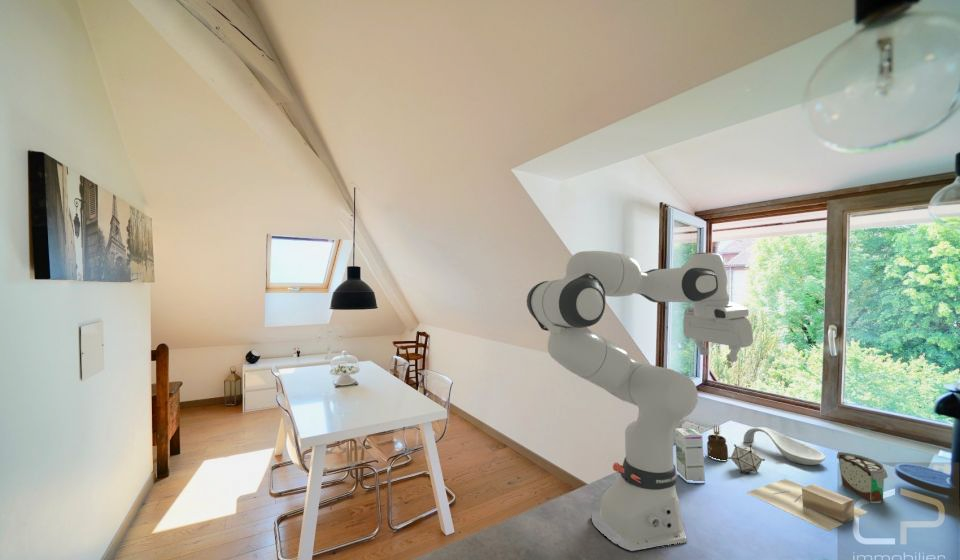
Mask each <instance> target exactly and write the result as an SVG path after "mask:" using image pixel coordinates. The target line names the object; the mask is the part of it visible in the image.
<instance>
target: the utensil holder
mask: <svg viewBox="0 0 960 560" xmlns="http://www.w3.org/2000/svg"><path fill="white" fill-rule="evenodd" d="M721 429H722V427H721V425H720V424H718V425H713V431H712V433H713V434H709V435H708V436H707V443H706V447H707V449H706V450H707V456H708V455H709V456H711V457H713V458H716V459H720V460H727V459H728V457H729V450H728V444H727V439H726V438H725V437H724V436H722V435H721V432H720V430H721ZM709 456H708V457H709ZM727 461H728V460H727Z"/></svg>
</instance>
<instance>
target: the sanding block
mask: <svg viewBox="0 0 960 560" xmlns="http://www.w3.org/2000/svg"><path fill="white" fill-rule="evenodd" d="M802 499H803V506H804V507H807V508H809V509H811V510H813V511H816V512H818V513H820V514H822V515H825V516H827V517H829V518H831V519H834V520H836V521H838V522H840V523H843V524H846V523H849V522H851V521H853V520H855V519H854V504H855V503H854V499H853V498H849V497H847V496H845V495H842V494H840V493H837V492H835V491H832V490H829V489H827V488H824V487H822V486H819V485H817V484H814V483H812V484H809V485H807V486H804V488H802ZM852 519H853V520H852ZM850 520H851V521H850ZM843 524H842V525H843Z"/></svg>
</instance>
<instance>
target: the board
mask: <svg viewBox="0 0 960 560" xmlns="http://www.w3.org/2000/svg"><path fill="white" fill-rule="evenodd" d="M804 487H805V486H804V485H801V484H799V483H797V482H794V481H792V480H789V479H786V478H783V479H780V480H778V481H775V482H772V483H769V484H766V485H763V486H760V487H757V488H755V489H752V490H750V491H746V494H748V495H750V496H752V497H755V498H757V499H759V500H760V501H763V502H765V503H767V504H769V505H772V506H774V507H776V508H777V509H780V510H782V511H784V512H787V513H789V514H791V515H792V516H795V517H797V518H800V519H801V520H804V521H805V522H807V523H809V524H812V525H814V526H816V527H818V528H820V529H823V530H824V531H827V532H829V531H832V530H834V529H836V528H837V527H839V526H842V525H843V523H840V522H838V521H836V520H834V519H831V518H829V517H827V516H825V515H822V514H820V513H818V512H816V511H813V510H811V509H809V508H807V507H804V506H803V499H802V488H804ZM867 513H869V511H867V510H864V509H862V508H859V507H857V506H854V519H852V520H850V521H849V522H851V521H853V520H855V519H857V518H859V517H861V516H863V515H866V514H867Z"/></svg>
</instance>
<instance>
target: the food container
mask: <svg viewBox="0 0 960 560" xmlns="http://www.w3.org/2000/svg"><path fill="white" fill-rule="evenodd" d="M836 459H838V464H839V471H840V480H841V484H842V486H844V487H846V488H847V489H849V490H850V491H852V492H853V493H855V494H856V495H858V496H860V497H861V498H862V499H864V500H866V501H867V502H869V503H870V504H881V503H882V502H883V501H884V488H885V487H884V485H885V483H884V481H885V479H887V478H888V477H889V476H888V473H887V470H886V468H885V467H884V465H883V464H882V463H880V462H878V460H874V459H872V458H869V457H865V456H863V455H859V454H855V453H851V452H844V451H837V454H836Z"/></svg>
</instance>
